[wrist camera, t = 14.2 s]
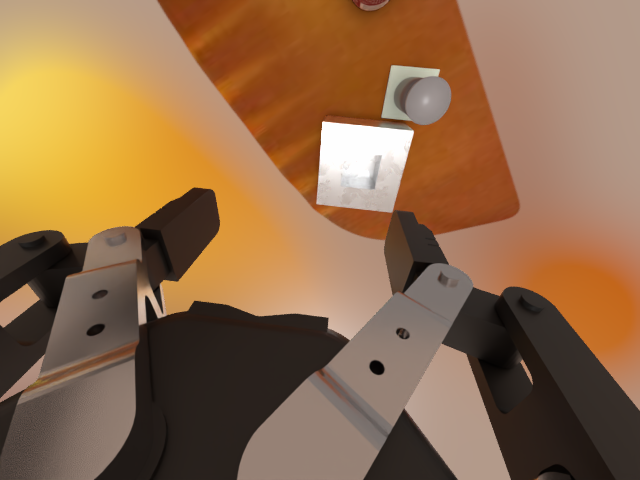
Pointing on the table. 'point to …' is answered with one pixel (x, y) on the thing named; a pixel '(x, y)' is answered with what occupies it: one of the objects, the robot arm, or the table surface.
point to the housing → (362, 162)
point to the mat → (394, 79)
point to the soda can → (370, 4)
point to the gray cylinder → (423, 98)
